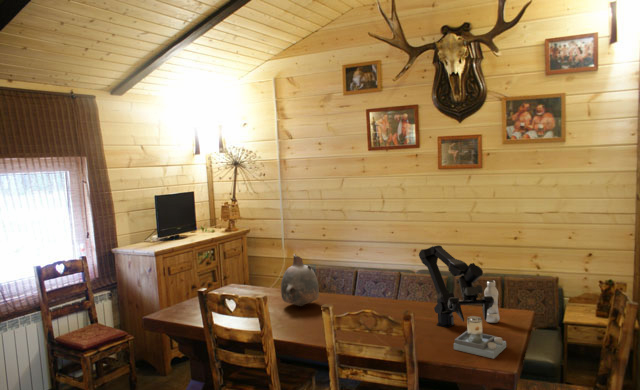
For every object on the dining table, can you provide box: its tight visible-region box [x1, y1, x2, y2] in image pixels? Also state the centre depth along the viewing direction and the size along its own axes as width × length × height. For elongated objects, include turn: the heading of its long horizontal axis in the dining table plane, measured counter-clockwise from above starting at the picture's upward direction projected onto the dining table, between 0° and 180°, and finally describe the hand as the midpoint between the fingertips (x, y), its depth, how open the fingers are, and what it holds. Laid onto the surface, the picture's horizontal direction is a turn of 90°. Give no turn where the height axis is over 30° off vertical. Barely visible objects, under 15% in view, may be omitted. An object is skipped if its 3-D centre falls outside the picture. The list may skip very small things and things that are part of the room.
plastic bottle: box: [483, 280, 500, 324], centre depth 230 cm, size 6×7×20 cm
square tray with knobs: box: [453, 330, 507, 359], centre depth 201 cm, size 17×14×4 cm
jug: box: [280, 253, 320, 307], centre depth 270 cm, size 24×21×30 cm
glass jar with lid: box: [466, 315, 483, 343], centre depth 200 cm, size 8×6×10 cm
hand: (474, 320), depth 201 cm, fingers open, 9 cm apart
